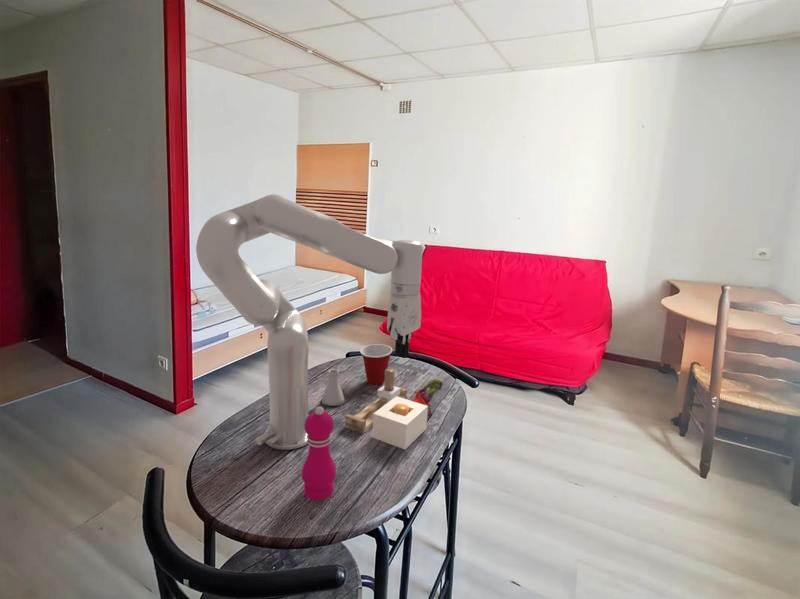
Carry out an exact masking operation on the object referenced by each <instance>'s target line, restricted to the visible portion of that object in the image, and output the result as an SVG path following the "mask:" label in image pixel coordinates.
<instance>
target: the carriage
mask: <svg viewBox="0 0 800 599" xmlns="http://www.w3.org/2000/svg"><path fill="white" fill-rule="evenodd" d="M395 375H396V370H395V369H394V368H387V369H386V370H385V381H384V383H383V386H382V385H381V387H380V388H378V389H377V395H376V396H377V397H378V399H379V400H380V399H381V398H386V399H388V401H387V403H388V402H389V401H391V400H392V399H393V398H395V397H396V396H397V397H398V395H399V394H400V388H401V387H400V388H398V387H399V386H397V387H395V386H396V385H395V377H396V376H395Z"/></svg>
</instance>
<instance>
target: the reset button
mask: <svg viewBox="0 0 800 599" xmlns="http://www.w3.org/2000/svg"><path fill="white" fill-rule="evenodd" d="M394 413H396V414H399V415H402V416H406V415H407V414H408V413H409V407H408V406H407V405H405V404H396V405H395V406H394Z"/></svg>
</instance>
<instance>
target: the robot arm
mask: <svg viewBox="0 0 800 599" xmlns="http://www.w3.org/2000/svg"><path fill="white" fill-rule="evenodd" d="M270 233H271V234H273V235H276V236H278V237H282V238H284V239H287V240H289V241H292V242H294V243H297V244H301V245H303V246H305V247H307V248H310V249H313V250H315V251H318V252H320V253H322V254H324V255H327V256H330V257H333V258H336V259H338V260H340V261H342V262H345V263H347V264H350V265H352V266H355V267H358V268H360V269H363V270H366V271H368V272H371V273H374V274H378V275H385V274H388V273H390V272H391V273H390V274H391V276H390V292H389V294H390V297H389V298H390V299H389V304H388V311H387V318H386V319H387V321H386V324H387V325H386V326H387V327H386V328H387V332H388V333H389V340H393V341H394V343H395V347H394V348H395V349H394V355H395V357H399V358H402V359H406V358H407V357H409V352H410V350H409V349H410V342H411V338H412V337H411V336H412V333H413V332H415V331H417V330H418V329H420V328H421V324H422V323H421V322H422V321H421V320H422V299H421V280H422V265H423V264H422V262H423V261H422V260H423V244H422V243H421V242H419V241H417V240H410V239H399V240H393V239H385V238H380V237H372V236H369V235H367V234H365V233H362V232H360V231H358V230H355V229H353V228H351V227H349V226H347V225H345V224H344V223H342V222H340V221H339V220H338V219H336V218H333V217H331V216H329V215H328V214H325V213H322V212H320V211H317V210H314V209H312V208H309V207H307V206H304V205H302V204H299V203H297V202H294V201H291V200H289V199H288V198H285V197H284V196H281V195H279V194H275V193H273V194H268V195H265V196H263V197H260V198H259V199H256V200H253V201H251V202H249V203H248V202H247V203H246V204H243V205H240V206H236V207H234V208H231V209H228V210H225V211H222V212H220V213H218V214H215V215H213V216H211V217H210V218H209V219H207V221H205V223H204V224H203V226H202V228H201V230H200V231H199V234H198V237H197V240H196V245H195V251H196V252H195V253H196V257H197V260H198V264H199V266H200V268H201V270H202V272H203V273H204V274H205V275H206V276H207V278H208V279H209V280H210V281H211V283H213V285H214V286H215V287H216V288H217V289H218V290H219V291H220V292H221V293H222V295H223V296H224V297H225V299H227V301H228V302H229V303H230V304H231V305H232V306H233V308H234V309H236V311H237V313H239V315H241V317H242V318H243V319H244V320H245V321H246V322H247V323H249V324H250V325H253V326H257V327H263V328H264V329H265V331H266V332H267V346H266V348H267V363H268V386H269V388H268V389H269V391H268V392H269V394H268V396H269V424H268V425H266V426H267V427H266V430H265V431H264V433H263V434H262V435H259V436H258V437H256V438H255V443H256V444H257V445H258V446H261V445H263V444H266V445H267V446H269V447H271V448H273V449H277V450H285V451H286V450H289V451H290V450H295V449H299V448H302V447H304V446H306V445H307V444H308V443H307V435H308V434H307V433H306V431H305V427H304V426H305V421H306V419H307V417H308V416H309V404H308V403H309V394H308V393H309V371H308V370H309V346H310V345H309V343H310V342H309V335H308V334H309V333H308V330H307V324H306V321H305V319H304V318H303V316H302V314H300V312H299V311H298V310H297V308H296V307H295V306H294V305H293V304H292V303H291V301H290V300H289V299H288V298H287V297H286V296H285V294H284V293H283V292H282V290H280V289H279V287H278V286H276V284H274V283H273V282H271V281H270V280H268V279H261V278H260V277H258V276H257V275H256V273H255V272H254V271H253V269H252V268H251V267H250V266H249V264H247V263H246V262H245V261H244V260H243V258H242V257H241V256H240V254H239V249H240V248H241V246H242V245H243V244H244V243H246V242H250V241H251V240H254V239H257V238H260V237H262V236H265V235H268V234H270ZM308 445H309V444H308Z"/></svg>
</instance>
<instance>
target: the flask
mask: <svg viewBox="0 0 800 599" xmlns="http://www.w3.org/2000/svg"><path fill="white" fill-rule="evenodd" d="M327 373H328V375H329V376H328V382H327V383H326V387H325V389H324V393H323V395H322V398H321V404H322V405H324V406H329V407H335V406H337V407H338V406H341V405H342V404H344V403H345V401H346V400H345V396H344V394H343V391H342V389H341V386H340V383H339V373H340V371H339V369H335V368H331V369H329V370H328V372H327Z"/></svg>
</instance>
